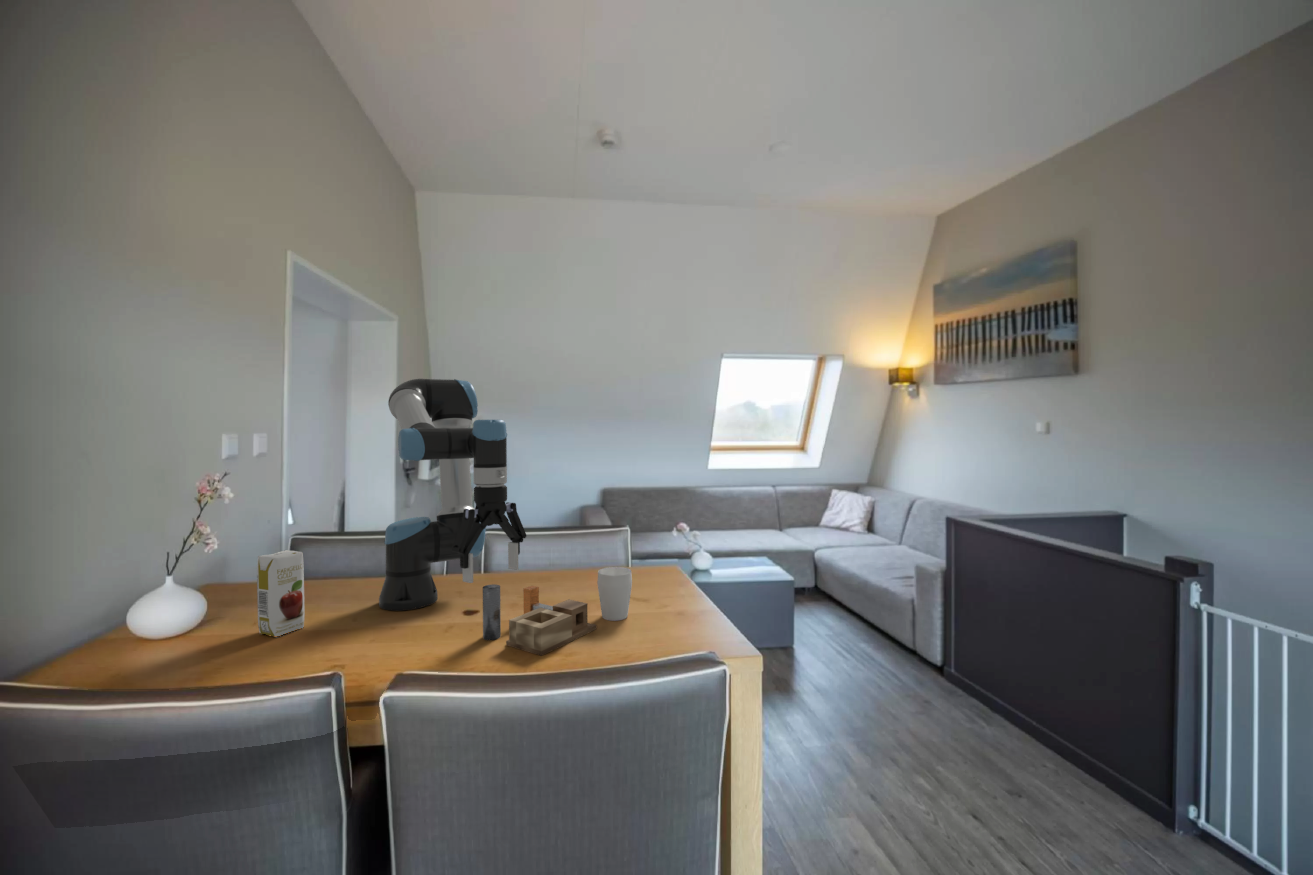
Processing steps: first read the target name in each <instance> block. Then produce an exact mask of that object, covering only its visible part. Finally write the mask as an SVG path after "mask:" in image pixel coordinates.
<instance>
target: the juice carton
mask: <svg viewBox="0 0 1313 875" xmlns="http://www.w3.org/2000/svg"><path fill="white" fill-rule="evenodd" d="M256 563H257V565H256V584H257V586H256V588H257V589H256V592H257V594H256V595H257V598H256V599H257V626H258V631H259V634H260V633H261V634H260V635H262V634H266V635H271V636H280V635H283V634H285V633H288V632H291V631H294V630H296V629H300V628H302V629H304V628H303V627H305V617H306V616H305V615H306V614H305V575H304V574H305V570H304V567H305V566H304V564H305V562H304V554H303V552H302V551H297V550H286V549H284V550H281V551H278V552H275V553H272V554H263V555H258V556H257V561H256ZM300 630H301V629H300ZM294 632H295V631H294ZM291 633H292V632H291ZM288 634H289V633H288ZM266 635H265V636H266ZM271 636H270V637H271ZM283 636H284V635H283ZM280 637H281V636H280Z"/></svg>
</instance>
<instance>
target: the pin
mask: <svg viewBox="0 0 1313 875" xmlns="http://www.w3.org/2000/svg"><path fill="white" fill-rule="evenodd" d="M539 590H540V587H539V586H537V585H536V586H535V585H530V586H526V587H524V588H523V590H522V591H523V614H525V613H528V612H531V611H533V610H536V609H538V608H544V609H548V610H552V611H553V605H548V604H545V603H541V602H540V591H539Z"/></svg>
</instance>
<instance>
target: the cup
mask: <svg viewBox="0 0 1313 875" xmlns="http://www.w3.org/2000/svg"><path fill="white" fill-rule="evenodd" d="M632 574H633V573H632V570H631V568H628V567H623V566H607V567H603V568H600V569H598V571H597V582H596V583H597V589H598V590H597V591H598V597H599V603H600V604H599V605H600V610H601V611H600V612H601V617H602V619H604V620H606V621H610V622H611V621H613V622H617V621H622V620H625V619H627V618H628V616H629V608H630V607H629V606H630V600H631V595H632V594H631V593H632V585H633V577H632Z"/></svg>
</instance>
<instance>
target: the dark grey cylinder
mask: <svg viewBox="0 0 1313 875" xmlns="http://www.w3.org/2000/svg"><path fill="white" fill-rule="evenodd" d="M501 620H502V619H501V585H500V584H493V583H492V584H487V585H483V587H482V639H483V640H484V641H495V640H496V641H497V640H499V639H500V638H501V637H502V636H501V634H502V632H501V629H502V628H501Z"/></svg>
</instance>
